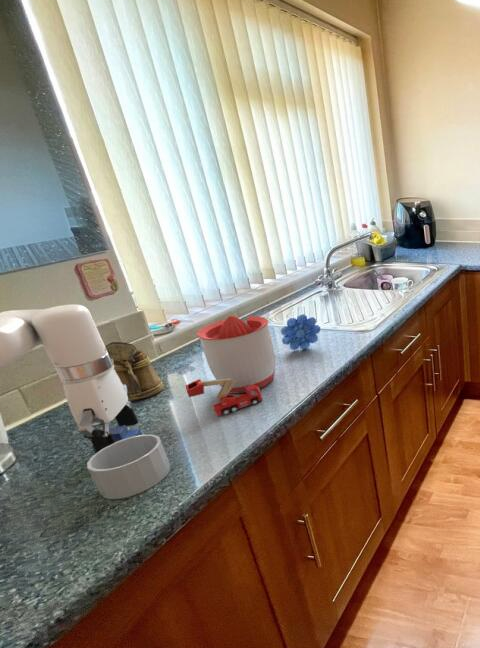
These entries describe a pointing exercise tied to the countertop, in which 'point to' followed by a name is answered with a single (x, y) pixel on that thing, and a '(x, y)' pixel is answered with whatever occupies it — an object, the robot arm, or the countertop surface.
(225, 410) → the toy fire truck
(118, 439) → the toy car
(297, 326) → the blue flower
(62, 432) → the countertop surface
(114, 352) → the wooden mug
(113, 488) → the grey bowl
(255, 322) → the citrus juicer
